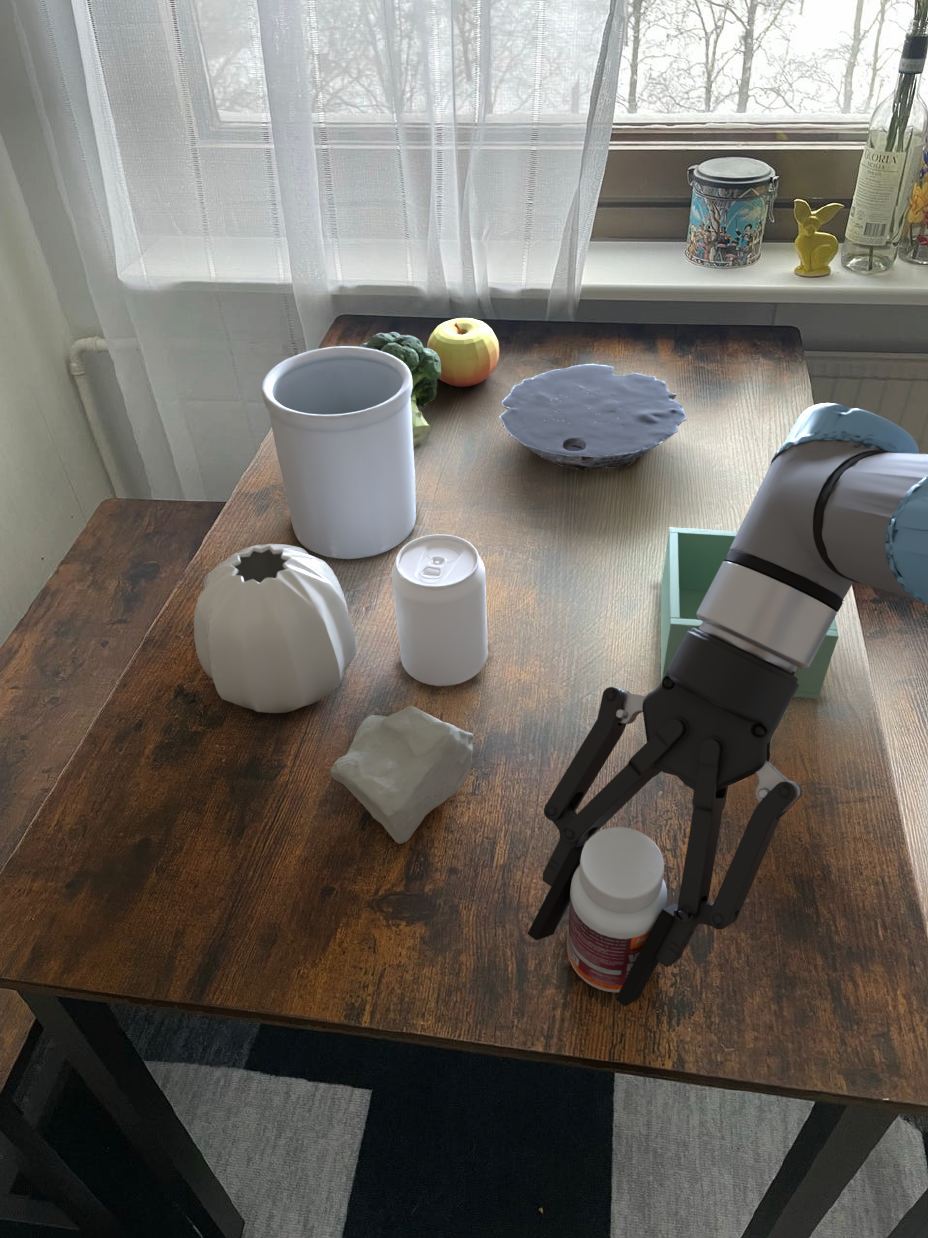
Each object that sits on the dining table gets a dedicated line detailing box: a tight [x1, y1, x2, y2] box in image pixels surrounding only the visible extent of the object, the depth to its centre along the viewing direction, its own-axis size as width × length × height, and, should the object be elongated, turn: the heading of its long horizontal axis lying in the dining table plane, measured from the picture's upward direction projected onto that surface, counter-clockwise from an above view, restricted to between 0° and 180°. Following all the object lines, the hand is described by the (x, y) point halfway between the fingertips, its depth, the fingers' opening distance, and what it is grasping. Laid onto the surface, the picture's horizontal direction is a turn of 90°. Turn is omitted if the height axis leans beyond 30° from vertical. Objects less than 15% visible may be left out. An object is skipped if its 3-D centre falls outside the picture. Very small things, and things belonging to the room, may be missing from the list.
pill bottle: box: [566, 826, 668, 993], centre depth 61 cm, size 6×6×11 cm
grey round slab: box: [498, 363, 687, 471], centre depth 111 cm, size 22×22×5 cm
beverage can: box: [390, 533, 489, 687], centre depth 82 cm, size 8×8×12 cm
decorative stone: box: [329, 705, 475, 845], centre depth 73 cm, size 11×9×10 cm
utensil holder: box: [261, 345, 417, 560], centre depth 97 cm, size 15×15×18 cm
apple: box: [426, 317, 500, 388], centre depth 124 cm, size 10×10×8 cm
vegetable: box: [358, 331, 441, 447], centre depth 115 cm, size 12×13×15 cm
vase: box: [193, 542, 358, 714], centre depth 81 cm, size 14×14×13 cm
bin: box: [660, 526, 839, 700], centre depth 84 cm, size 14×14×8 cm
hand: (582, 965), depth 60 cm, fingers closed on pill bottle, 6 cm apart
